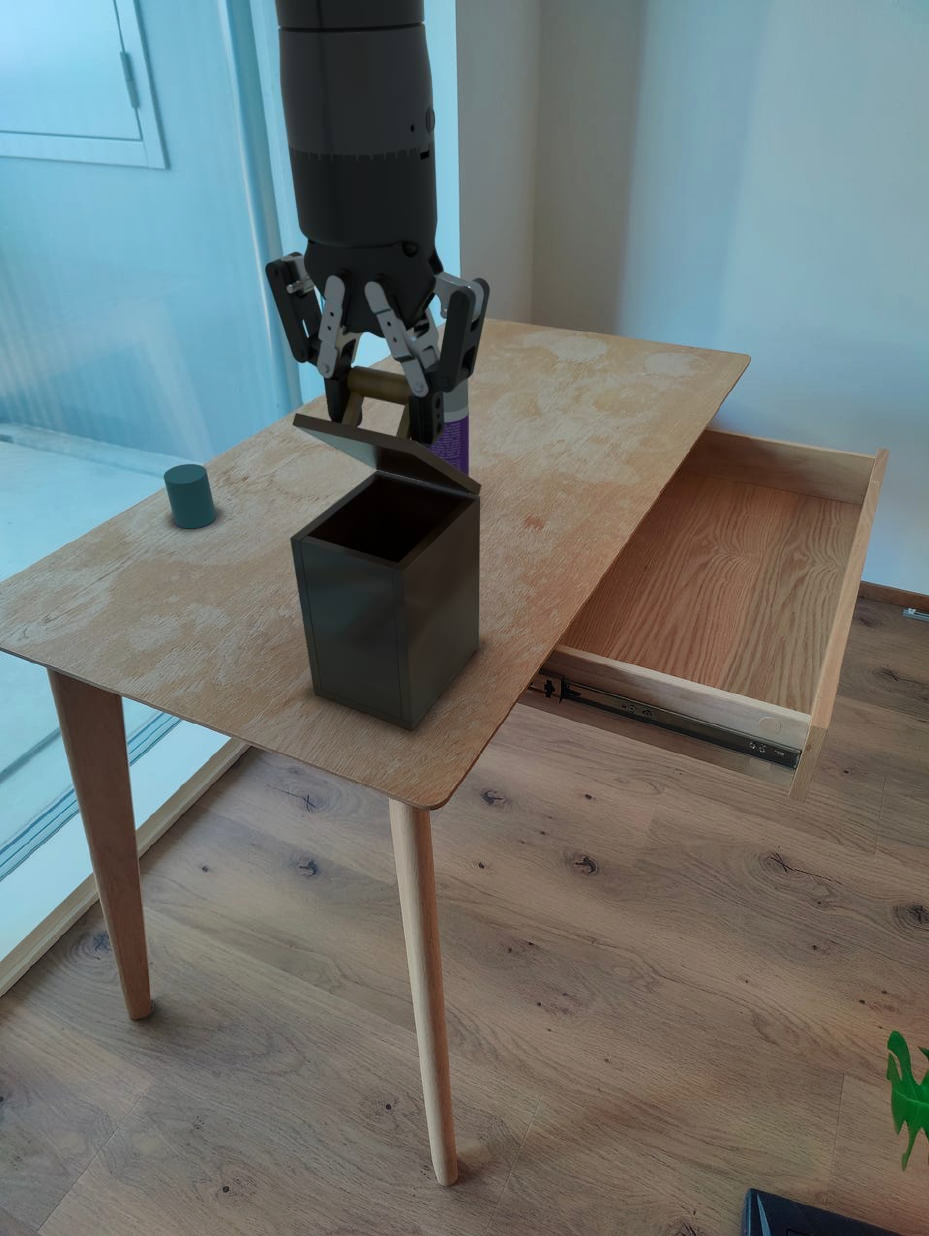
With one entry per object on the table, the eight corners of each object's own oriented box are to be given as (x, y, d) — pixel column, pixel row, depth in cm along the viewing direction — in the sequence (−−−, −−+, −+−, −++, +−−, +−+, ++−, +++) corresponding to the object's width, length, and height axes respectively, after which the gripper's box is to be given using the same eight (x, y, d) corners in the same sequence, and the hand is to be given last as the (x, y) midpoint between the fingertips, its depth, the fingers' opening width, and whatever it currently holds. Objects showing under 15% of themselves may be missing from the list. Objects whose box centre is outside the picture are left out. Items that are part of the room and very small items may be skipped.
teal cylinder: (181, 533, 81) (170, 487, 78) (169, 515, 84) (158, 470, 81) (221, 521, 83) (212, 476, 80) (208, 504, 85) (198, 460, 82)
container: (477, 501, 86) (478, 358, 76) (452, 522, 82) (450, 374, 73) (439, 490, 88) (436, 348, 78) (413, 509, 84) (407, 364, 75)
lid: (412, 454, 48) (437, 370, 48) (291, 425, 51) (314, 346, 51) (478, 496, 58) (499, 427, 58) (374, 469, 62) (394, 404, 61)
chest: (412, 731, 60) (402, 572, 51) (313, 693, 63) (289, 537, 54) (479, 647, 67) (480, 496, 59) (388, 617, 70) (376, 469, 62)
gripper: (203, 137, 43) (261, 439, 53) (449, 157, 37) (458, 488, 48) (292, 115, 48) (328, 394, 59) (519, 129, 43) (513, 434, 53)
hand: (387, 435), depth 53 cm, fingers closed on lid, 5 cm apart
